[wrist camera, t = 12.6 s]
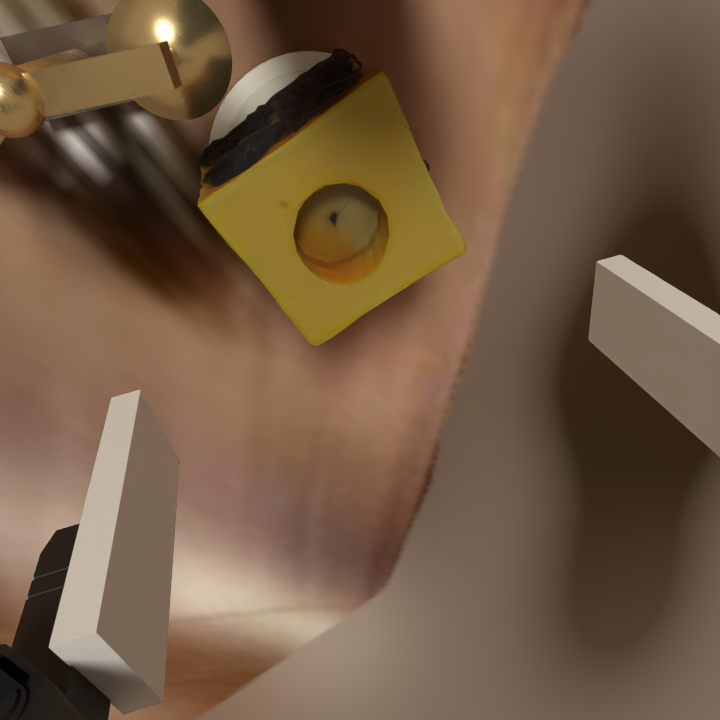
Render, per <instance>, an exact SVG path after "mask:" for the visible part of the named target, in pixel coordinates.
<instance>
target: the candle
mask: <svg viewBox="0 0 720 720" xmlns="http://www.w3.org/2000/svg"><path fill="white" fill-rule="evenodd" d="M203 153H204V154H203V155H202V156H201V157H200V164H201V165H200V170H201V182H200V184H201V186H202V188H201V189H200V197H199V198H198V207H199V209H200V210H201V211H202V212H203V214H204V215H205V216H206V218H207V219H208V220H209V221H210V223H211V224H212V225H213V226H214V228H215V229H216V230H217V231H218V232H219V234H220V235H221V236H222V237H223V239H224V240H225V241H226V242H227V243H228V245H229V246H230V247H231V248H232V249H233V250H234V251H235V253H236V254H237V255H238V256H239V257H240V258H241V259H242V260H243V261H244V262H245V263H246V264H247V265H248V266H249V268H250V269H251V270H252V271H253V272H254V274H255V275H256V276H257V277H258V278H259V279H260V281H261V282H262V283H263V284H264V285H265V287H266V288H267V289H268V291H269V292H270V294H271V295H272V296H273V298H274V299H275V300H276V302H277V303H278V305H279V306H280V307H281V309H282V310H283V311H284V313H285V314H286V315H287V316H288V317H289V319H290V320H291V321H292V322H293V324H294V325H295V326H296V327H297V329H298V330H299V331H300V332H301V334H302V335H303V336H304V337H305V339H306V340H307V341H308V342H309V343H310V344H311V345H314V346H319V345H321V344H322V343H324V342H326V341H328V340H329V339H331V338H333V337H334V336H335V335H337V334H338V333H339V332H341V331H342V330H344V329H345V328H346V327H348V326H349V325H350V324H352V323H353V322H354V321H356V320H357V319H358V318H359V317H361V316H362V315H364V314H365V313H367V312H369V311H370V310H372V309H373V308H375V307H376V306H378V305H379V304H381V303H383V302H384V301H386V300H387V299H389V298H390V297H392V296H394V295H395V294H397V293H398V292H400V291H402V290H403V289H405V288H406V287H408V286H409V285H411V284H413V283H414V282H416V281H417V280H419V279H421V278H423V277H424V276H426V275H428V274H430V273H431V272H433V271H435V270H437V269H438V268H440V267H442V266H443V265H445V264H447V263H448V262H450V261H452V260H453V259H455V258H457V257H458V256H460V255H461V254H463V253H464V252H465V250H466V244H465V240H464V238H463V236H462V235H461V233H460V231H459V230H458V228H457V226H456V225H455V224H454V222H453V221H452V220H451V218H450V217H449V215H448V214H447V213H446V211H445V208H444V205H443V203H442V200H441V197H440V195H439V193H438V191H437V189H436V187H435V185H434V183H433V181H432V179H431V177H430V175H429V164H428V163H427V162H426V161H425V160H423V159H422V157H421V155H420V153H419V150H418V148H417V145H416V143H415V140H414V138H413V136H412V133H411V130H410V127H409V125H408V122H407V119H406V117H405V115H404V113H403V110H402V108H401V106H400V104H399V102H398V99H397V97H396V95H395V92H394V90H393V88H392V85H391V83H390V81H389V79H388V77H387V76H386V74H385V73H384V72H383V71H382V70H381V69H379V68H376V69H370V68H368V67H365V68H362V63H361V62H359V61H358V60H357V58H356V57H355V55H354V54H349V53H348V52H347V51H345V50H344V49H334V51H333V53H332V55H331V56H330V57H329V58H327V59H325V60H323V61H321V62H318V63H317V64H316V65H314V66H313V67H312V68H310V70H309V71H307V72H304V73H302V74H300V75H299V76H298V77H297V78H296V79H295V80H294V81H293V82H292V83H290V84H289V85H287V86H286V87H284V88H283V89H281V90H280V91H278V92H277V93H275V94H274V95H273V96H272V97H271V98H270V99H269V100H268V101H267V102H266V104H265V105H259V106H258V107H257V108H256V110H255V111H254V112H252V113H250V114H248V115H247V117H246V119H245V120H244V121H242V122H241V123H240V124H239V125H237V126H236V127H235V128H234V129H232V130H231V131H230V132H229V133H228V134H227V135H226V136H224V137H223V138H220V139H217V140H213V141H212V142H211V143H210V145H209V146H208V147H207V148H206V149H205V150H204V152H203Z"/></svg>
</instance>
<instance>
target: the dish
mask: <svg viewBox="0 0 720 720" xmlns="http://www.w3.org/2000/svg"><path fill="white" fill-rule="evenodd" d="M331 55H332V54H331V53H326V52H319V51H297V52H290V53H285V54H282V55H279V56H276V57H272V58H270V59H268V60H266V61H264V62H262V63H260V64H258V65H257V66H256V67H254V68H253V69H251V70H250V71H248V72H247V73H246V74H245V75H244V76H243V77H242V78H241V79H239V80H238V81H237V82H236V83H235V85H234V86H233V87H232V88H231V90H230V91H229V92H228V93H227V95H226V97H225V98H224V100H223V102H222V103H221V105H220V107H219V109H218V112H217V114H216V116H215V119H214V122H213V125H212V129H211V133H210V139H209V145H210V143H211V142H212V141H213V140H217V139H220V138H223V137H224V136H226V135H227V134H228V133H229V132H230V131H231V130H232V129H234V128H235V127H236V126H237V125H239V124H240V123H241V122H242V121H244V120H245V119H246V117H247V115H248V114H250V113H252V112H254V111H255V110H256V108H257V107H258V106H259V105H265V104H266V102H267V101H268V100H269V99H270V98H271V97H272V96H273V95H274V94H275V93H277V92H278V91H280V90H281V89H283V88H284V87H286V86H287V85H289V84H290V83H292V82H293V81H294V80H295V79H296V78H297V77H298V76H299V75H300V74H302V73H304V72H307V71H309V70H310V68H312V67H313V66H314V65H316V64H317V63H318V62H321V61H323V60H325V59H327V58H329V57H330V56H331ZM362 68H363V67H362Z"/></svg>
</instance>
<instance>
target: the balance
mask: <svg viewBox="0 0 720 720" xmlns="http://www.w3.org/2000/svg"><path fill="white" fill-rule="evenodd" d="M0 39H1V41H2V43H3V45H4V47H5V49H6V51H7V53H8V55H9V57H10V59H11V61H12V63H13V65H11V64H8V63H4V62H0V145H1V144H2V143H3V142H4V141H5V139H6V138H7V137H9V138H23V137H27V136H30V135H32V134H34V133H36V132H37V131H38V130H39V129H40V128H41V127H42V126H43V124H44V122H45V121H49V120H54V119H58V118H62V117H67V116H71V115H75V114H80V113H84V112H88V111H92V110H97V109H101V108H105V107H110V106H114V105H118V104H122V103H127V102H131V101H135V102H136V103H137V104H139V105H140V106H141V107H143V108H144V109H145V110H147V111H149V112H151V113H153V114H155V115H157V116H160V117H162V118H166V119H170V120H190V119H194V118H198V117H200V116H202V115H204V114H206V113H208V112H209V111H211V110H212V109H213V108H214V107H215V106H216V105H218V103H219V102H220V101H221V99H222V98H223V96H224V95H225V93H226V91H227V88H228V86H229V82H230V79H231V72H232V56H231V50H230V45H229V41H228V38H227V35H226V33H225V31H224V29H223V26H222V25H221V23H220V21H219V20H218V18H217V17H216V15H215V14H214V13H213V11H212V10H211V9H210V8H209V7H208V6H207V5H206V4H205V3H204V2H203V1H201V0H121V1H120V2H119V3H118V5H117V6H116V8H115V9H114V11H113V13H111V14H107V15H102V16H98V17H93V18H89V19H84V20H79V21H75V22H70V23H66V24H61V25H57V26H52V27H48V28H43V29H38V30H34V31H29V32H25V33H20V34H16V35H11V36H7V37H2V38H0Z"/></svg>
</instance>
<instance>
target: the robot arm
mask: <svg viewBox="0 0 720 720" xmlns="http://www.w3.org/2000/svg"><path fill="white" fill-rule="evenodd" d="M589 341H590V342H591V343H593V344H594V345H595V346H596V347H597V348H598V349H599V350H600V351H602V352H603V353H604V354H605V355H606V356H607V357H608V358H610V359H611V360H612V361H613V362H614V363H615V364H616V365H617V366H618V367H620V368H621V369H622V370H623V371H624V372H625V373H626V374H627V375H628V376H630V377H631V378H632V379H633V380H634V381H635V382H636V383H637V384H639V385H640V386H641V387H642V388H643V389H644V390H646V392H648V393H649V394H650V395H651V396H652V397H653V398H655V400H657V401H658V402H659V403H660V404H661V405H662V406H663V407H664V408H666V409H667V410H668V411H669V412H670V413H671V414H672V415H673V416H674V417H676V418H677V419H678V420H679V421H680V422H681V423H682V424H683V425H685V426H686V427H687V428H688V429H689V430H690V431H691V432H692V433H694V434H695V435H696V436H697V437H698V438H699V439H700V440H701V441H703V442H704V443H705V444H706V445H707V446H708V447H709V448H710V449H711V450H713V451H714V452H715V453H716V454H717V455H718V456H719V457H720V315H719V314H717V313H715V312H714V311H712V310H711V309H709V308H707V307H706V306H704V305H702V304H701V303H699V302H697V301H696V300H694V299H692V298H691V297H689V296H688V295H686V294H684V293H683V292H681V291H679V290H678V289H676V288H675V287H673V286H671V285H670V284H668V283H666V282H665V281H663V280H661V279H660V278H658V277H656V276H655V275H653V274H652V273H650V272H649V271H647V270H645V269H644V268H642V267H640V266H639V265H637V264H635V263H634V262H632V261H630V260H629V259H627V258H626V257H624V256H622V255H618V256H615V257H612V258H608V259H604V260H601V261H597V263H596V272H595V281H594V291H593V302H592V311H591V320H590V330H589ZM179 464H180V460H179V458H178V456H177V454H176V452H175V451H174V449H173V447H172V445H171V443H170V442H169V440H168V438H167V436H166V434H165V433H164V431H163V429H162V427H161V425H160V424H159V422H158V420H157V418H156V416H155V415H154V413H153V411H152V409H151V407H150V406H149V404H148V402H147V400H146V398H145V397H144V395H143V393H142V391H141V390H137V391H134V392H130V393H127V394H123V395H119V396H116V397H112V398H111V402H110V406H109V410H108V414H107V418H106V422H105V426H104V430H103V434H102V438H101V442H100V446H99V450H98V454H97V458H96V462H95V465H94V469H93V473H92V477H91V481H90V485H89V489H88V493H87V497H86V501H85V505H84V509H83V513H82V517H81V521H80V524H77V525H73V526H70V527H67V528H63V529H60V530H57V531H56V532H55V533H54V535H53V536H52V538H51V539H50V541H49V542H48V544H47V545H46V546H45V548H44V549H43V551H42V552H41V554H40V557H39V561H38V564H37V567H36V570H35V573H34V581H32V583H31V586H30V590H29V593H28V597H29V598H28V600H26V602H25V606H24V609H23V612H22V615H21V619H20V622H19V625H18V628H17V632H16V635H15V638H14V641H13V644H12V648H11V647H9V646H8V645H6V644H2V645H0V720H108V716H109V709H110V703H111V704H112V705H114V706H115V707H116V708H117V709H118V710H119V711H120V712H121V713H123V714H127V713H130V712H133V711H136V710H139V709H142V708H145V707H148V706H151V705H154V704H157V703H160V702H163V696H164V682H165V667H166V653H167V638H168V624H169V609H170V595H171V580H172V566H173V551H174V537H175V522H176V508H177V493H178V479H179Z"/></svg>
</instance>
